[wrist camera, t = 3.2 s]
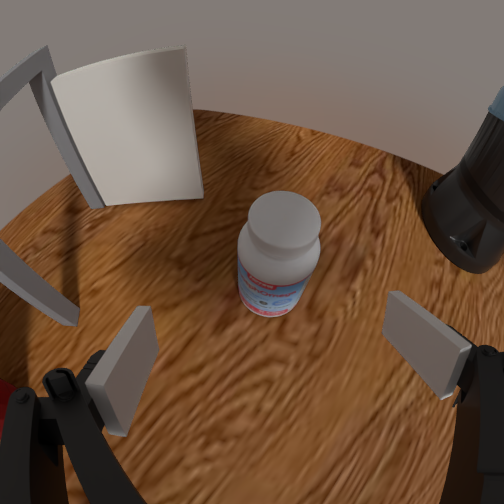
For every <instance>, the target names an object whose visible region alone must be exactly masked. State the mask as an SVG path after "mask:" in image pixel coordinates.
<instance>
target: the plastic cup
mask: <svg viewBox="0 0 504 504" xmlns="http://www.w3.org/2000/svg"><path fill="white" fill-rule="evenodd" d="M16 389H17V388H16V387H15V386H13V385H11V384H10V383H8V382H6V381H4V380H2V379H1V378H0V439H1V436H2V430H3V425H4V419H5V415H6V410H7V406H8V401H9V398H10V396H11V394H12V393H13V392H14V391H15V390H16Z"/></svg>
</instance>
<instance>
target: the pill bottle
mask: <svg viewBox="0 0 504 504" xmlns="http://www.w3.org/2000/svg"><path fill="white" fill-rule="evenodd" d="M320 227H321V219H320V215H319V212H318V210H317V209H316V207H315V206H314V205H313V204H312V203H311V202H310V201H309V200H308V199H306V198H305V197H303V196H301V195H299V194H297V193H293V192H289V191H273V192H269V193H266V194H264V195H262V196H260V197H259V198H258V199H257V200H255V202H254V203H253V204H252V206H251V208H250V210H249V214H248V221H247V222H246V224H245V225H244V226H243V228H242V230H241V232H240V234H239V238H238V247H237V250H238V288H239V294H240V297H241V299H242V301H243V303H244V304H245V306H246V307H247V308H248V309H250V310H251V311H252V312H254V313H256V314H258V315H261V316H265V317H276V316H281V315H283V314H286V313H287V312H289V311H290V310H291V309H293V307H294V306H295V305H296V304H297V302H298V300H299V298H300V296H301V294H302V293H303V291H304V289H305V287H306V285H307V283H308V281H309V279H310V277H311V275H312V273H313V271H314V269H315V267H316V265H317V262H318V259H319V255H320V241H319V237H318V234H319V231H320Z"/></svg>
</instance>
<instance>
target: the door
mask: <svg viewBox="0 0 504 504" xmlns="http://www.w3.org/2000/svg"><path fill="white" fill-rule="evenodd" d="M51 85H52V88H53V90H54V93H55V96H56V98H57V101H58V104H59V106H60V109H61V111H62V114H63V116H64V119H65V121H66V123H67V126H68V128H69V131H70V133H71V135H72V137H73V140H74V142H75V144H76V146H77V148H78V151H79V153H80V155H81V157H82V159H83V161H84V163H85V165H86V167H87V170H88V172H89V174H90V176H91V178H92V180H93V182H94V183H95V185H96V187H97V189H98V191H99V193H100V195H101V197H102V199H103V201H104V202H105V204H106V206H108V205H118V204H129V203H141V202H153V201H167V200H183V199H201V198H203V196H204V188H203V182H202V175H201V168H200V161H199V154H198V147H197V139H196V132H195V124H194V116H193V109H192V100H191V91H190V82H189V73H188V63H187V53H186V45H181V46H173V47H166V48H160V49H154V50H148V51H143V52H138V53H133V54H129V55H124V56H120V57H116V58H112V59H108V60H104V61H101V62H97V63H94V64H90V65H87V66H84V67H81V68H78V69H75V70H72V71H69V72H66V73H64V74H61V75H58V76H56V77H55V78H54V79H53V80H52V81H51Z"/></svg>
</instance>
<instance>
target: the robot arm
mask: <svg viewBox="0 0 504 504" xmlns="http://www.w3.org/2000/svg"><path fill="white" fill-rule="evenodd" d="M488 110H489V112H488V114H487V116H486V118H485V120H484V122H483V124H482V125H481V127H480V129H479V131H478V133H477V135H476V136H475V138H474V140H473V141H472V143H471V145H470V146H469V148H468V150H467V151H466V153H465V155H464V157H463V158H462V160H461V162H460V163H459V164H458V165H457V166H456V167H454V168H453V169H452V170H450V171H449V172H447V173H446V174H445V175H443V176H442V177H440V178H439V179H438V180H436V181H435V182H434V183H433V184H432V185H431V186H430V187H429V189H428V191H427V192H426V194H425V195H424V197H423V200H422V215H423V219H424V222H425V225H426V227H427V230H428V232H429V234H430V235H431V237H432V239H433V240H434V242H435V243H436V245H437V246H438V248H439V249H440V250H441V251H442V252H443V253H444V255H445V256H446V257H447V258H448V259H449V260H451V261H452V262H453V263H454V264H455V265H457V266H458V267H460V268H461V269H463V270H465V271H467V272H470V273H475V274H481V273H485V272H487V271H488V270H489V269H490V268H492V267H493V266H494V265H495V264H496V263H497V262H498V261H499V260H500V258H501V256H502V254H503V253H504V86H503V87H502V88H501V89H500V91H499V93H498V94H497V96H496V98H495V100H494V102H493V104H492V105H490V106H489V108H488ZM382 334H383V335H384V337H385V338H386V339H387V340H388V341H389V342H390V343H391V344H392V345H393V346H394V347H395V349H396V350H397V351H398V352H399V353H400V354H401V355H402V356H403V357H404V359H405V360H406V361H407V362H408V363H409V364H410V365H411V366H412V368H413V369H414V370H415V371H416V372H417V373H418V374H419V375H420V377H421V378H422V379H423V380H424V381H425V382H426V383H427V385H428V386H429V387H430V388H431V389H432V390H433V392H434V393H435V394H436V395H437V396H438V397H439V399H440V400H442V399H444V398H446V397H449V396H451V395H452V394H453V392H454V390H455V388H456V385H458V386H459V387H460V388H461V389H460V391H459V393H458V396H457V398H456V400H455V402H454V404H453V406H452V407H455V405H456V404H457V415H456V424H455V432H454V439H453V446H452V452H451V457H450V463H449V467H448V472H447V476H446V481H445V485H444V489H443V492H442V496H441V499H440V503H439V504H504V352H498V350H496V349H495V348H494V347H492V346H488V345H481V346H479V347H477V346H476V345H475V344H473V343H472V342H471V341H470V340H468V339H467V338H466V337H464V336H462V334H460V333H459V332H457V330H455V329H454V328H453V327H451V326H449V325H447V324H444V323H443V322H442V321H440V320H439V319H438V318H436V317H435V316H434V315H432V314H431V313H430V312H428V311H427V310H426V309H424V308H423V307H421V306H420V305H419V304H417V303H416V302H415V301H413V300H412V299H410V298H409V297H408V296H406V295H405V294H403V293H402V292H401V291H391V292H388V299H387V306H386V312H385V318H384V324H383V329H382ZM158 352H159V347H158V342H157V337H156V332H155V327H154V321H153V316H152V310H151V306H137V307H136V309H135V310H134V312H133V313H132V314H131V316H130V317H129V318H128V320H127V321H126V323H125V324H124V326H123V327H122V328H121V330H120V331H119V333H118V334H117V336H116V337H115V338H114V340H113V341H112V343H111V344H110V346H109V347H108V349H107V350H99V351H98V352H96V353H95V354H93V355H92V356H91V357H90V359H89V360H88V361H87V364H85V366H84V367H83V369H82V370H81V371H80V373H79V374H78V376H77V377H76V378H75V376H74V374H73V372H72V371H71V370H69V369H67V368H57V369H54V370H51V371H49V372H48V373H47V374H45V376H44V377H43V381H42V383H43V385H44V387H45V389H46V391H47V393H48V395H49V397H37V395H36V393H35V392H34V390H33V389H31V388H29V387H22V388H18V389H16V390H15V391H14V392H13V393H12V394H11V396H10V398H9V401H8V406H7V410H6V415H5V419H4V425H3V430H2V436H1V442H0V504H69V502H68V496H67V489H66V482H65V473H64V462H63V447H62V445H65V447H66V450H67V452H68V455H69V457H70V460H71V462H72V465H73V467H74V470H75V472H76V474H77V477H78V479H79V481H80V483H81V485H82V487H83V490H84V492H85V494H86V496H87V498H88V500H89V502H90V503H91V504H147V503H146V502H145V500H144V499H143V498H142V496H141V495H140V494H139V492H138V491H137V489H136V488H135V487H134V485H133V484H132V482H131V481H130V479H129V478H128V476H127V475H126V473H125V472H124V470H123V468H122V467H121V465H120V464H119V462H118V460H117V459H116V457H115V455H114V454H113V452H112V450H111V448H110V447H109V445H108V443H107V441H106V439H105V438H104V436H103V434H102V429H103V427H104V425H105V427H106V429H107V431H108V432H109V434H112V435H118V436H124V437H127V434H128V431H129V428H130V425H131V422H132V420H133V417H134V414H135V411H136V409H137V406H138V403H139V401H140V398H141V395H142V393H143V390H144V387H145V385H146V382H147V379H148V377H149V374H150V372H151V369H152V367H153V364H154V362H155V359H156V357H157V354H158Z"/></svg>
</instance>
